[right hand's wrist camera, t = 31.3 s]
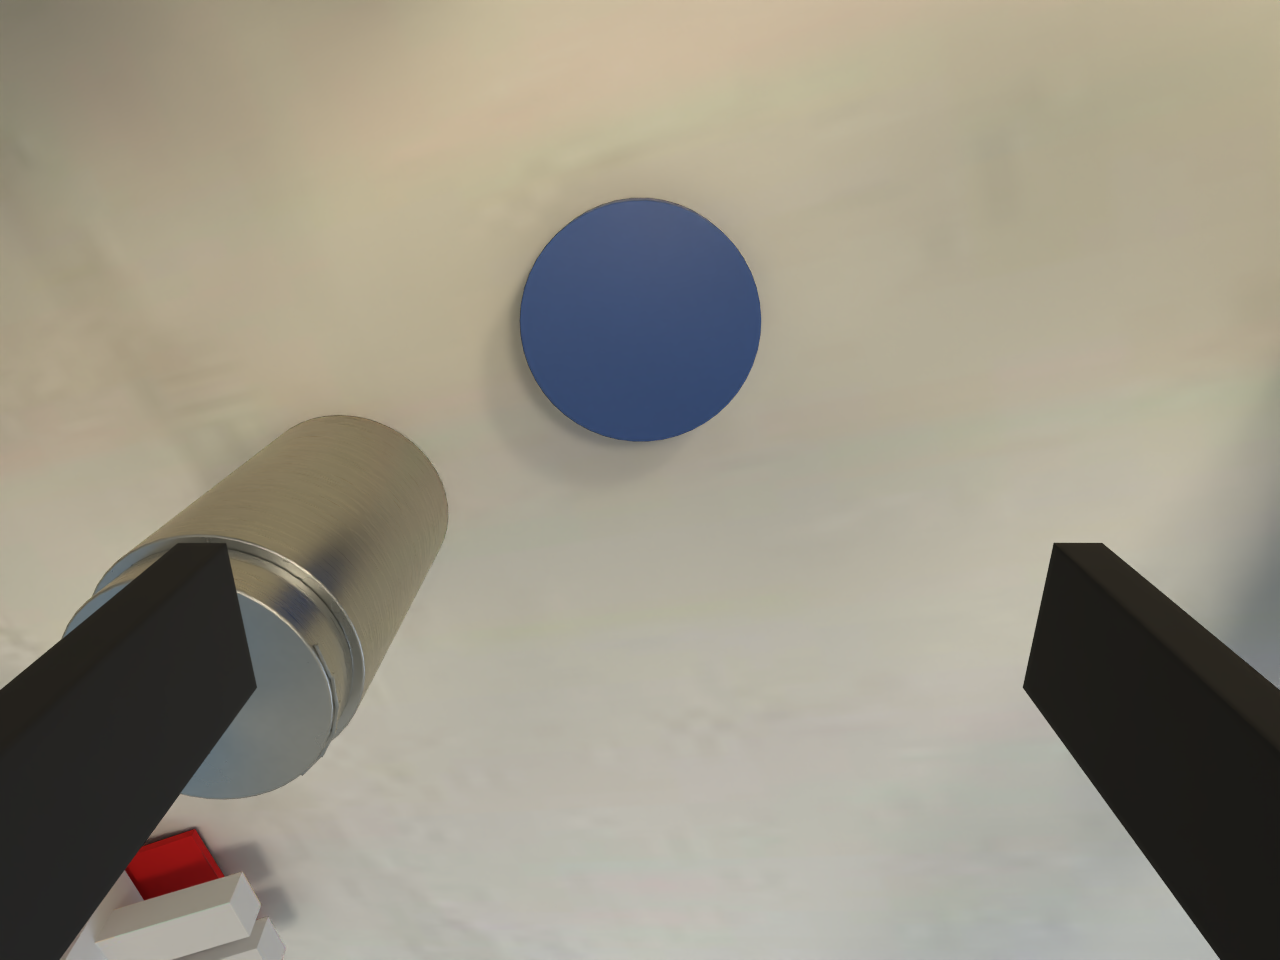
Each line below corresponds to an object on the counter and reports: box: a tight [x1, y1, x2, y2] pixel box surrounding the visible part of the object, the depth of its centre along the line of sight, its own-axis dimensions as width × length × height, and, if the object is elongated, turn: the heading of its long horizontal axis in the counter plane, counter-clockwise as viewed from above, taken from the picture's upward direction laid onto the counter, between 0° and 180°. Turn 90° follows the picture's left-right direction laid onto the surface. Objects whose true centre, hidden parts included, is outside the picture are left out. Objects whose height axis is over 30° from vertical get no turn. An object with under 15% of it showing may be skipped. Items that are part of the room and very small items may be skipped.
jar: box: [62, 415, 448, 799], centre depth 34 cm, size 10×10×16 cm
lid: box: [520, 198, 761, 441], centre depth 36 cm, size 11×11×2 cm
